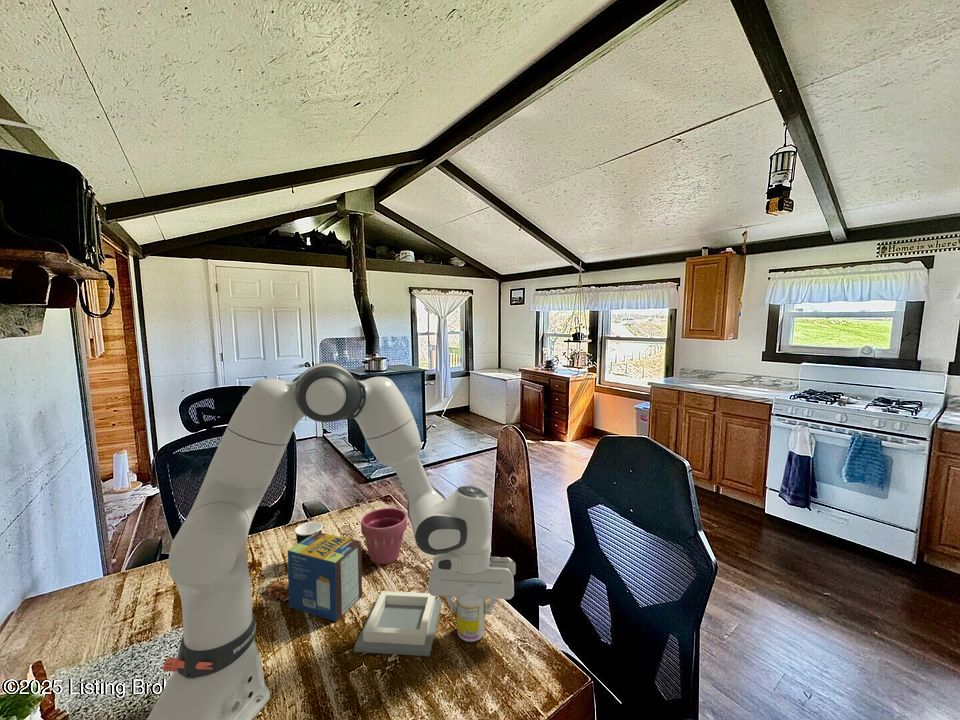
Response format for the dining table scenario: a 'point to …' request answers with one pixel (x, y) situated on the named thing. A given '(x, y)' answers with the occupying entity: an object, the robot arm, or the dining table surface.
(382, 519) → the plant pot
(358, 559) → the protein box
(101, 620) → the dining table surface
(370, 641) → the picture frame
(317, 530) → the dixie cup
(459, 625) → the supplement bottle
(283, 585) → the pastry
